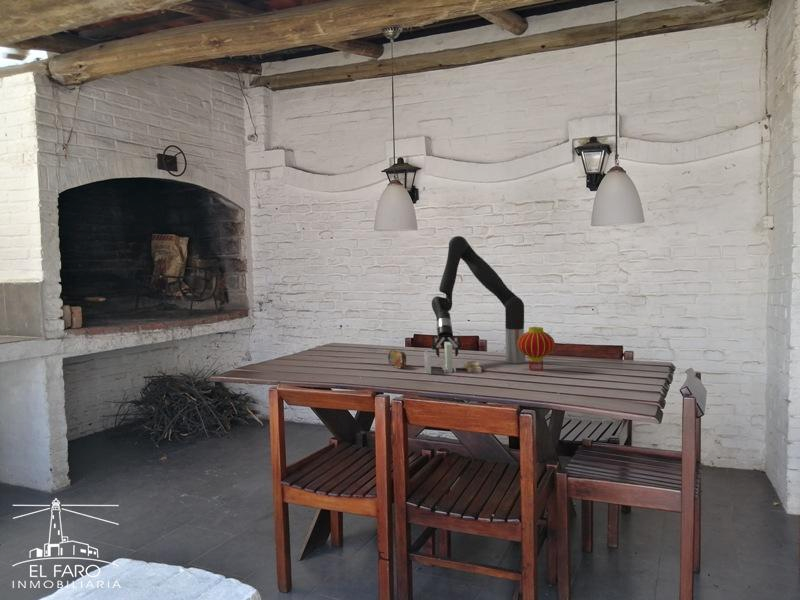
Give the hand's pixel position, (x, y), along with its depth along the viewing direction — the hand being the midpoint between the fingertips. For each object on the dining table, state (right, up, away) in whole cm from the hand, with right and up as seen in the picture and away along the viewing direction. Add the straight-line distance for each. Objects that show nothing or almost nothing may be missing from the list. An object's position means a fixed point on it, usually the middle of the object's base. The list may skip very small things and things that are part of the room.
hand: (447, 355), depth 293 cm
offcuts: (+12, -7, -2) cm, 14 cm away
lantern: (+42, -7, -5) cm, 42 cm away
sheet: (0, -7, -2) cm, 7 cm away
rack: (-4, -7, -2) cm, 8 cm away
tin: (-24, -7, +9) cm, 27 cm away
